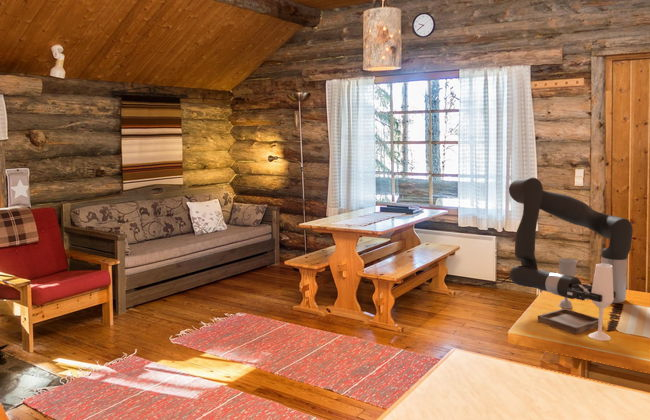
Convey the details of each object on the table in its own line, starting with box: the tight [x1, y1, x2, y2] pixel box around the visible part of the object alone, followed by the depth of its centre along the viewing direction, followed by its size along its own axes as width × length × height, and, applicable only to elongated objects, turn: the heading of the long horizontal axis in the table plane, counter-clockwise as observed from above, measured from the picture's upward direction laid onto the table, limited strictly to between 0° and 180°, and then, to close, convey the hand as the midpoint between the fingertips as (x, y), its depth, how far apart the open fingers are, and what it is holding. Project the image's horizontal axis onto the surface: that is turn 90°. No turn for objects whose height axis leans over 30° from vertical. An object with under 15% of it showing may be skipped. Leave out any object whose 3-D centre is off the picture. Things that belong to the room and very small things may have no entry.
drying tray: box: [537, 308, 604, 335], centre depth 200 cm, size 15×15×2 cm
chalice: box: [557, 257, 578, 309], centre depth 218 cm, size 7×7×18 cm
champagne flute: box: [588, 263, 614, 342], centre depth 186 cm, size 7×7×24 cm
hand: (608, 297), depth 184 cm, fingers closed on champagne flute, 6 cm apart
